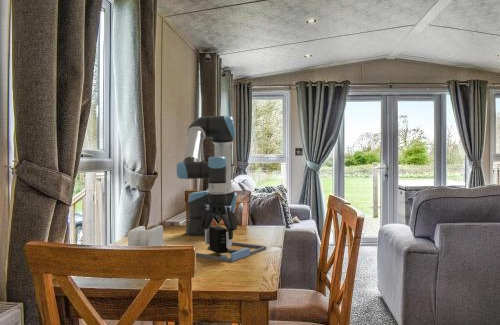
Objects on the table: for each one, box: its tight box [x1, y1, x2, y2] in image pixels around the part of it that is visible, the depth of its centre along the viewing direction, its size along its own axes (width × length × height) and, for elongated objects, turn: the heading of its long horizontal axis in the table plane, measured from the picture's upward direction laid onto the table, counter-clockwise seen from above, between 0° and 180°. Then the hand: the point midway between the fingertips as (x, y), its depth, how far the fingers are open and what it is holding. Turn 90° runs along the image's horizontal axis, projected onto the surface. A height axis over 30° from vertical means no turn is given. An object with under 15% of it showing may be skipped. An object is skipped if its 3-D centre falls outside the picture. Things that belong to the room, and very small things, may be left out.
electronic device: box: [209, 225, 229, 255], centre depth 163 cm, size 4×10×10 cm, turn 27°
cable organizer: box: [126, 225, 164, 247], centre depth 165 cm, size 15×11×12 cm
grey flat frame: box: [195, 241, 267, 263], centre depth 168 cm, size 27×23×3 cm
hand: (218, 245), depth 163 cm, fingers closed on electronic device, 11 cm apart
